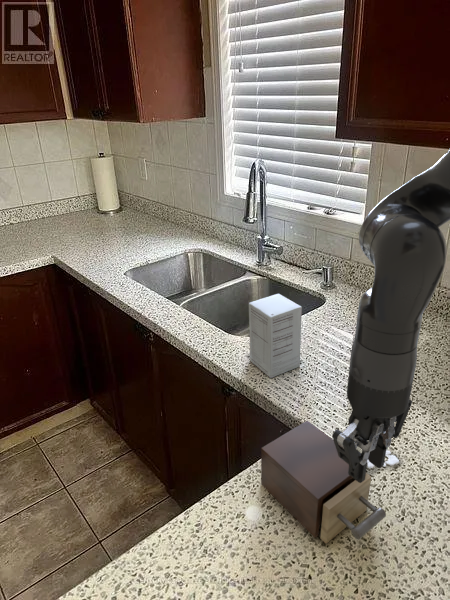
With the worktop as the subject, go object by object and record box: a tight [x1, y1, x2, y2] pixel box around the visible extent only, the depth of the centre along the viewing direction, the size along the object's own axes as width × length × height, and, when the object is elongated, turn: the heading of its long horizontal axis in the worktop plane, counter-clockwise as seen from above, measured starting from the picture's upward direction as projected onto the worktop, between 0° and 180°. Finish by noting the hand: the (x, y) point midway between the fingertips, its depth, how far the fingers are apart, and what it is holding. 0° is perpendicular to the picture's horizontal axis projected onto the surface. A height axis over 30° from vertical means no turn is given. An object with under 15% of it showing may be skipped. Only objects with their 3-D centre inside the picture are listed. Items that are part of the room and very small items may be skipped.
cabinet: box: [260, 420, 355, 538], centre depth 74 cm, size 13×11×10 cm
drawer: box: [319, 472, 387, 544], centre depth 71 cm, size 16×10×8 cm, turn 36°
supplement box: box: [248, 293, 303, 379], centre depth 109 cm, size 10×9×17 cm
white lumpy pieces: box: [367, 449, 400, 469], centre depth 83 cm, size 8×7×2 cm
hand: (366, 470), depth 63 cm, fingers open, 3 cm apart
